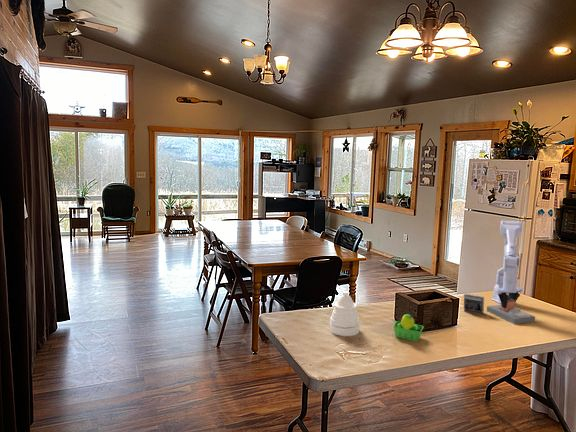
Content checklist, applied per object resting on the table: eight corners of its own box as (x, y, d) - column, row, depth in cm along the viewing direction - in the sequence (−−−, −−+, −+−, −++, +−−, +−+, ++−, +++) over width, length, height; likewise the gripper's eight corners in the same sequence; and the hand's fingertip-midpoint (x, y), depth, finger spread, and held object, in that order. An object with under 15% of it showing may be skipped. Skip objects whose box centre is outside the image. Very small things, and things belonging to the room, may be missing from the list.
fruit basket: (423, 337, 187) (425, 311, 186) (418, 344, 179) (419, 318, 178) (397, 331, 193) (398, 306, 191) (391, 338, 185) (392, 312, 184)
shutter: (508, 313, 210) (509, 309, 210) (519, 312, 212) (520, 307, 212) (519, 318, 204) (519, 313, 204) (530, 317, 206) (530, 312, 205)
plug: (501, 310, 216) (502, 296, 215) (507, 309, 218) (509, 296, 217) (507, 313, 213) (508, 299, 212) (514, 312, 214) (515, 298, 213)
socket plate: (486, 310, 221) (487, 306, 220) (506, 309, 224) (506, 304, 223) (513, 324, 203) (514, 318, 203) (534, 321, 207) (535, 316, 206)
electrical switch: (483, 312, 218) (484, 295, 216) (482, 316, 214) (482, 298, 212) (464, 309, 223) (464, 291, 221) (461, 312, 219) (462, 295, 217)
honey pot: (358, 337, 186) (360, 296, 183) (328, 334, 188) (329, 294, 186) (359, 326, 198) (361, 287, 196) (331, 323, 201) (332, 285, 198)
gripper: (503, 283, 207) (501, 311, 209) (528, 281, 211) (526, 308, 213) (492, 279, 214) (490, 306, 216) (517, 277, 218) (514, 303, 220)
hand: (507, 307), depth 215 cm, fingers closed on plug, 4 cm apart
